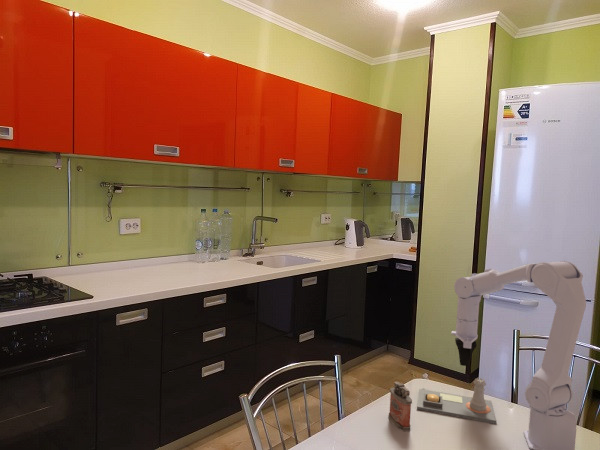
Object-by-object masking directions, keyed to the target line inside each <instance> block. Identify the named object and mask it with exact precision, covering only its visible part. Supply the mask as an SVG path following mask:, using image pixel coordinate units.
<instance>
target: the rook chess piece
mask: <svg viewBox="0 0 600 450" xmlns="http://www.w3.org/2000/svg"><path fill="white" fill-rule="evenodd" d="M472 383H473V384H474V386H473V395H472V396H471V397H472V399H471V400H470V404H469V405H470V407H471V408H472V409H473V410H476V411H485V410H486V409H487V408H486V406H487V405H486V402H485V400H486V399H485V391H486V389H485V386H487V383H486V382H485V379H484V378H482V377H481V378H480V377H477V378H474V380H473V382H472Z"/></svg>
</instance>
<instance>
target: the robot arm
mask: <svg viewBox="0 0 600 450" xmlns="http://www.w3.org/2000/svg"><path fill="white" fill-rule="evenodd" d="M583 278H584V275H583V273H582V272H581V270H579V268H578V267H577V266H576V265H575V264H574V263H573V262H571V261H567V260H559V261H551V262H545V261H541V262H538V263H528V264H525V265H521V266H517V267H515V268H511V269H508V270H504V271H502V272H500V271H498V270H497V269H492V268H487V269H484V272H480V273H475V272H474V273H471V275H470V276H466V277H465V276H461V277H459V278H457V279H456V280H455V282H454V286H453V287H454V292H455V294H456V296H458V297H457V308H456V309H457V311H456V323H455V330H452V331H451V332H450V333H451V335H452V336H455V340H454V341H455V342H454V343H455V345H456V347H457V350H458V356H459V357H458V358H459V364H460V366H462V367H463V366H464V367H468V366H469V365H470V362H471V359H472V354H473V353H474V351H475V349H476V348H477V346H478V344H477V340H478V337H479V335H478V327H479V313H480V302H482V301H481V299H482V296H483V295H488V294H491V293H497V292H500V291H502V290H503V289H504V288H505V286H506V285H508V284H513V283H518V282H522V281H523V282H524V281H527V282H528V283H530V284H532V283H533V284H534V286H535V287H536V288H537V289H538V290H540V291H542V293H544V294H545V295H546V296H547V297H548V298H549V299H551V300H552V302H553V303H554V304H555V306H556V308H555V312H554V316H553V319H552V323H551V328H550V331H549V335H548V340H547V344H546V347H545V351H544V355H543V359H542V363H541V366H540V368H539V369H538V370H537V371H536V372H535V373H534V374H533V376H532V379H531V382H530V383H529V384H528V385H527V386H526V388H525V391H524V396H525V400H526V401H527V404H528V405H529V408H530V409H529V418H528V419H529V421H528V430H523V435H524V437H525V440H526V443H527V445H528V449H529V450H575V449H576V441H577V439H576V438H577V419H576V415H575V413H573V412H572V411H569V410H566V409H567V404H569V403H571V402H572V400H573V396H574V394H573V389H572V384H573V379H572V377H571V376H570V375H569V370H570V366H571V363H572V359H573V355H574V352H575V349H576V344H577V341H578V336H579V333H580V329H581V326H582V322H583V318H584V314H585V311H586V307H587V300H586V296H585V293H584V292H585V291H584V288H583V284H582V282H583Z"/></svg>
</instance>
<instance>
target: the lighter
mask: <svg viewBox="0 0 600 450" xmlns="http://www.w3.org/2000/svg"><path fill="white" fill-rule="evenodd" d="M393 386H394V387H390V388H389V393H390V398H389V401H390V402H389V413H388V418H389V420H390V422H391V423H392V424H393V425H395V426H396V428H398V429H400V430H402V431H404V432H408V431H410V430H411V409H412V403H413V400H412V398H411V396H410V390H409V389H408V388H407V387H405V384H404V383H401V382H399V381H394V383H393Z"/></svg>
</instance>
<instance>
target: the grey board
mask: <svg viewBox="0 0 600 450" xmlns="http://www.w3.org/2000/svg"><path fill="white" fill-rule="evenodd" d="M428 394H434V395H437V396H438V397H439V403H437V402H431V401H427V395H428ZM472 397H473V396H471V397H470V396H467V395H466V396H465V395H460V394H453V393H447V392H443V391H442V392H441V391H436V390H429V389H423V388H419V389H418V396H417V406H416V410H417V411H423V412H427V413H428V412H430V413H434V414H441V415H445V416H450V417H451V416H452V417H457V418H463V419H468V420H473V421H478V422H484V423H489V424H494V425H495V424H496V425H497V417H496V412H495V410H494V405H493V402H492V400H489V399H485V402H486V405H487V406H486V408H487V409H486V410H485V411H476V410H473V409H472V408H471V407H470V405H469V404H470V400H471V399H472Z"/></svg>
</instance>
